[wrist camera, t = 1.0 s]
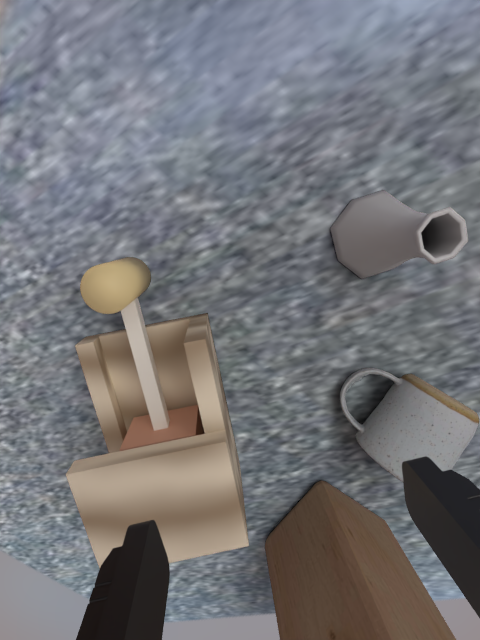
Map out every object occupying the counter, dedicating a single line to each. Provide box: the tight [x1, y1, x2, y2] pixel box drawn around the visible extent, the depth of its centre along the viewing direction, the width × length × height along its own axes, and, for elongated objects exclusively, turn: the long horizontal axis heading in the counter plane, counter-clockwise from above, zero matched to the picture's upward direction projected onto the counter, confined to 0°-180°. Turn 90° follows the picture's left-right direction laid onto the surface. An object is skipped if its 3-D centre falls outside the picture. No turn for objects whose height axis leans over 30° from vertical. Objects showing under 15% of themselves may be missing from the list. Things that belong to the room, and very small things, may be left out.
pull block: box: [80, 257, 205, 451], centre depth 28 cm, size 20×6×7 cm, turn 10°
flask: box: [330, 190, 468, 279], centre depth 26 cm, size 7×7×10 cm
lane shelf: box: [66, 313, 249, 568], centre depth 28 cm, size 16×11×10 cm
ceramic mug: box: [340, 368, 479, 482], centre depth 31 cm, size 11×8×8 cm
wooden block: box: [265, 481, 456, 640], centre depth 28 cm, size 10×10×20 cm
